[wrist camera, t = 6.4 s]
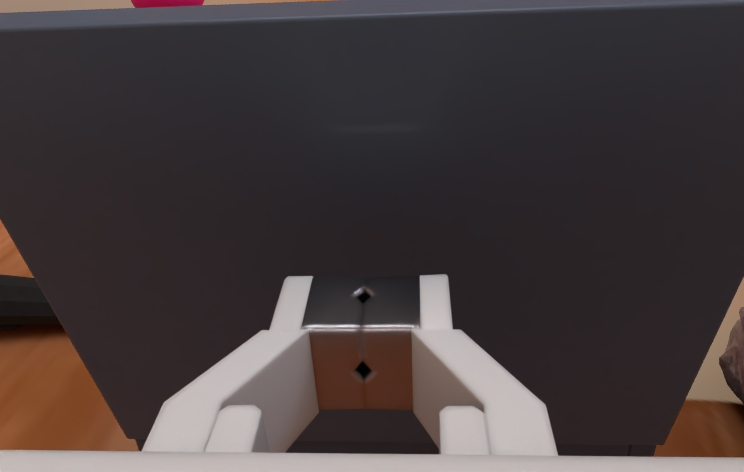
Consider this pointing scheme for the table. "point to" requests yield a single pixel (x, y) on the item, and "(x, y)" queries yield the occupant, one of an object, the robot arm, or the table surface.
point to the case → (432, 448)
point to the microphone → (23, 303)
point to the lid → (386, 187)
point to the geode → (735, 359)
